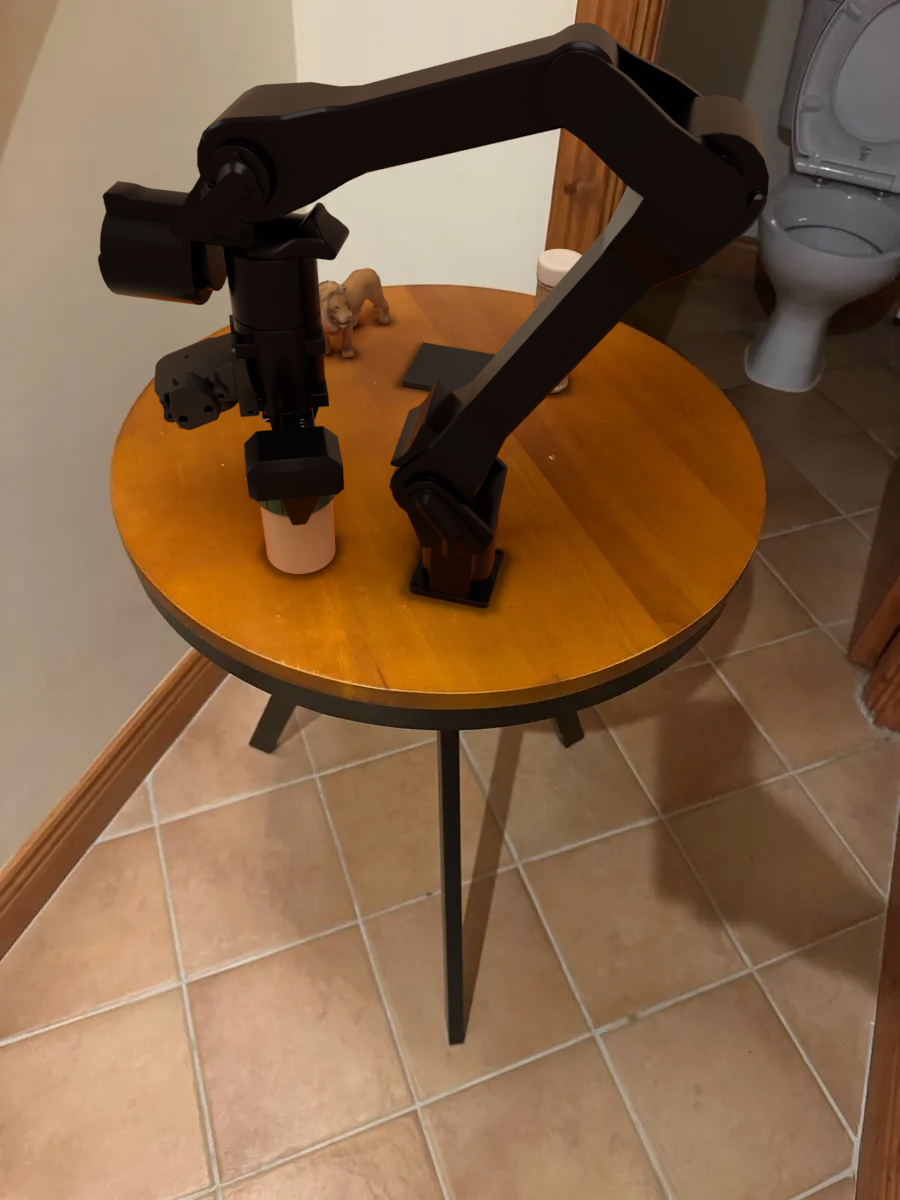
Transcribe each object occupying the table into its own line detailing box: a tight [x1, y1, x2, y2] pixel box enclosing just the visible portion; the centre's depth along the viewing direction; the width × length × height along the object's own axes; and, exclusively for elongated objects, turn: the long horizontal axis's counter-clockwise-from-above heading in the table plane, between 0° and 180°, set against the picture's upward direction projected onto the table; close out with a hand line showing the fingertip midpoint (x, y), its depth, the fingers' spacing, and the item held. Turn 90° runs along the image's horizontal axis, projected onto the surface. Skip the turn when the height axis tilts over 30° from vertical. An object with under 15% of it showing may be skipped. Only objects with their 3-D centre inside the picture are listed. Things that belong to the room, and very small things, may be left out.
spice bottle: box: [533, 248, 583, 394], centre depth 89 cm, size 5×5×13 cm
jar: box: [259, 500, 337, 575], centre depth 71 cm, size 6×6×8 cm
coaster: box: [401, 342, 496, 392], centre depth 94 cm, size 8×8×1 cm
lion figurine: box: [319, 267, 391, 359], centre depth 95 cm, size 15×5×9 cm, turn 163°
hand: (295, 495), depth 70 cm, fingers closed on lid, 6 cm apart
